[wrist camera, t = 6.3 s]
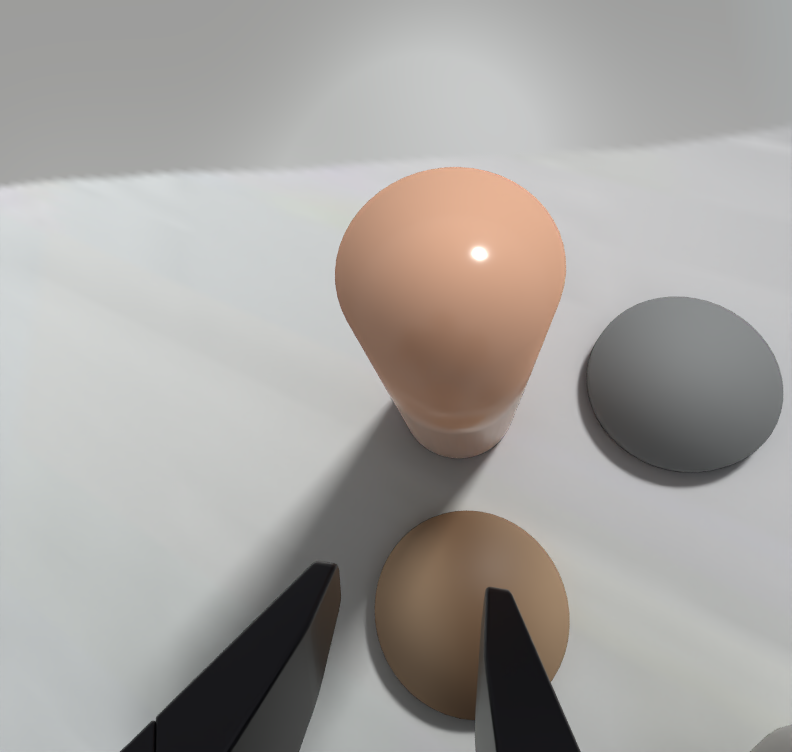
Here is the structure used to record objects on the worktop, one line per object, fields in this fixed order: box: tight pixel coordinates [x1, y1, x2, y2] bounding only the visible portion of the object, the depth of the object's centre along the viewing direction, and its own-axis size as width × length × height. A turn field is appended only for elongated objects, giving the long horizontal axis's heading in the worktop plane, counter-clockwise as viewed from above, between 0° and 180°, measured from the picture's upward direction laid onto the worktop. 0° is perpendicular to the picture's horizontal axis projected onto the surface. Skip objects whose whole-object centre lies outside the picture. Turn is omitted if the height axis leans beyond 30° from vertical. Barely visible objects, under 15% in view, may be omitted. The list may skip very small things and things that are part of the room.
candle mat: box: [587, 297, 783, 472], centre depth 23 cm, size 8×8×1 cm
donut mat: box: [375, 511, 569, 720], centre depth 21 cm, size 8×8×1 cm
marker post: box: [335, 167, 566, 458], centre depth 18 cm, size 5×5×13 cm
